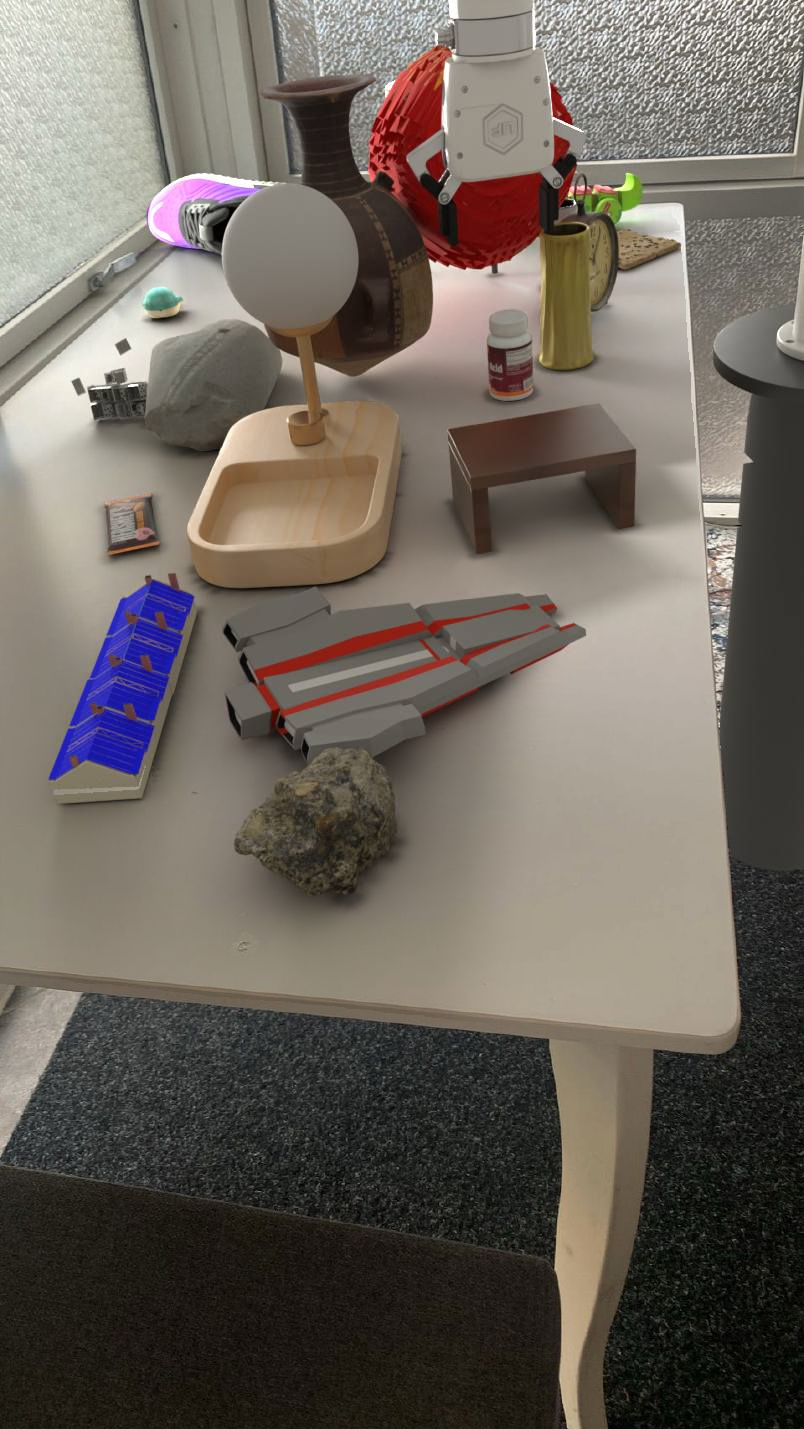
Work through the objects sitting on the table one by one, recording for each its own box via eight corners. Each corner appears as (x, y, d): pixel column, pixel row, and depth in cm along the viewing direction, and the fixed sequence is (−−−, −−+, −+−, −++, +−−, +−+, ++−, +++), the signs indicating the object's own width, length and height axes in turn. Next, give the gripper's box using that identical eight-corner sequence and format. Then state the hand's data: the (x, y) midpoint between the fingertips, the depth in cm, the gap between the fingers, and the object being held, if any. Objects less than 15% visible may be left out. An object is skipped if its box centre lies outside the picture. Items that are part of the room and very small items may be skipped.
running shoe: (151, 177, 179) (101, 203, 169) (313, 163, 168) (271, 189, 158) (169, 246, 185) (122, 275, 175) (327, 237, 174) (287, 267, 164)
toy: (580, 129, 141) (650, 103, 114) (482, 300, 148) (526, 313, 120) (424, 18, 135) (459, -38, 107) (330, 202, 142) (339, 193, 114)
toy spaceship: (504, 539, 91) (500, 592, 94) (188, 610, 82) (194, 666, 85) (643, 659, 77) (633, 717, 80) (281, 761, 68) (285, 822, 71)
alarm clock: (581, 334, 132) (580, 188, 122) (540, 329, 135) (536, 185, 125) (621, 303, 139) (623, 162, 129) (581, 299, 141) (581, 160, 131)
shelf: (599, 476, 104) (599, 402, 100) (634, 526, 96) (636, 449, 92) (453, 501, 103) (446, 428, 99) (476, 554, 95) (470, 477, 91)
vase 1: (435, 407, 120) (407, 94, 101) (259, 420, 122) (200, 116, 104) (443, 331, 138) (420, 52, 119) (289, 343, 140) (243, 72, 121)
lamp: (382, 582, 93) (340, 273, 77) (182, 593, 95) (101, 294, 80) (408, 416, 119) (380, 159, 103) (250, 428, 121) (199, 177, 105)
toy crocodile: (516, 240, 163) (514, 195, 159) (506, 230, 168) (505, 187, 165) (648, 222, 164) (649, 177, 160) (634, 213, 169) (635, 169, 166)
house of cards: (61, 344, 124) (101, 333, 130) (81, 422, 128) (119, 408, 134) (129, 337, 121) (166, 326, 127) (147, 418, 124) (182, 404, 131)
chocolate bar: (161, 548, 102) (159, 540, 102) (108, 559, 101) (105, 551, 101) (153, 495, 111) (151, 488, 110) (104, 505, 110) (102, 498, 109)
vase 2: (569, 346, 130) (567, 217, 121) (605, 359, 126) (606, 226, 117) (528, 361, 128) (523, 231, 119) (563, 375, 123) (561, 241, 115)
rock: (232, 913, 67) (274, 785, 74) (377, 928, 65) (407, 796, 72) (212, 858, 63) (259, 727, 69) (366, 872, 61) (399, 738, 68)
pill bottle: (482, 390, 123) (478, 314, 117) (522, 381, 124) (519, 304, 118) (500, 405, 119) (495, 327, 114) (540, 395, 120) (538, 317, 115)
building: (145, 800, 75) (130, 755, 72) (56, 805, 75) (38, 762, 73) (199, 611, 93) (189, 570, 90) (127, 616, 93) (114, 576, 91)
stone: (155, 302, 132) (283, 307, 133) (159, 355, 136) (283, 359, 137) (126, 406, 112) (276, 411, 114) (133, 464, 117) (277, 467, 118)
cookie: (625, 271, 149) (626, 263, 148) (558, 255, 156) (558, 248, 155) (683, 247, 154) (683, 239, 154) (615, 232, 162) (615, 225, 161)
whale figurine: (141, 323, 153) (134, 295, 150) (147, 306, 158) (140, 278, 156) (183, 318, 153) (176, 290, 150) (188, 300, 158) (182, 273, 156)
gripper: (405, 55, 97) (421, 259, 107) (598, 30, 98) (595, 234, 109) (391, 44, 103) (407, 238, 113) (574, 20, 104) (573, 214, 115)
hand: (499, 236), depth 111 cm, fingers open, 9 cm apart
